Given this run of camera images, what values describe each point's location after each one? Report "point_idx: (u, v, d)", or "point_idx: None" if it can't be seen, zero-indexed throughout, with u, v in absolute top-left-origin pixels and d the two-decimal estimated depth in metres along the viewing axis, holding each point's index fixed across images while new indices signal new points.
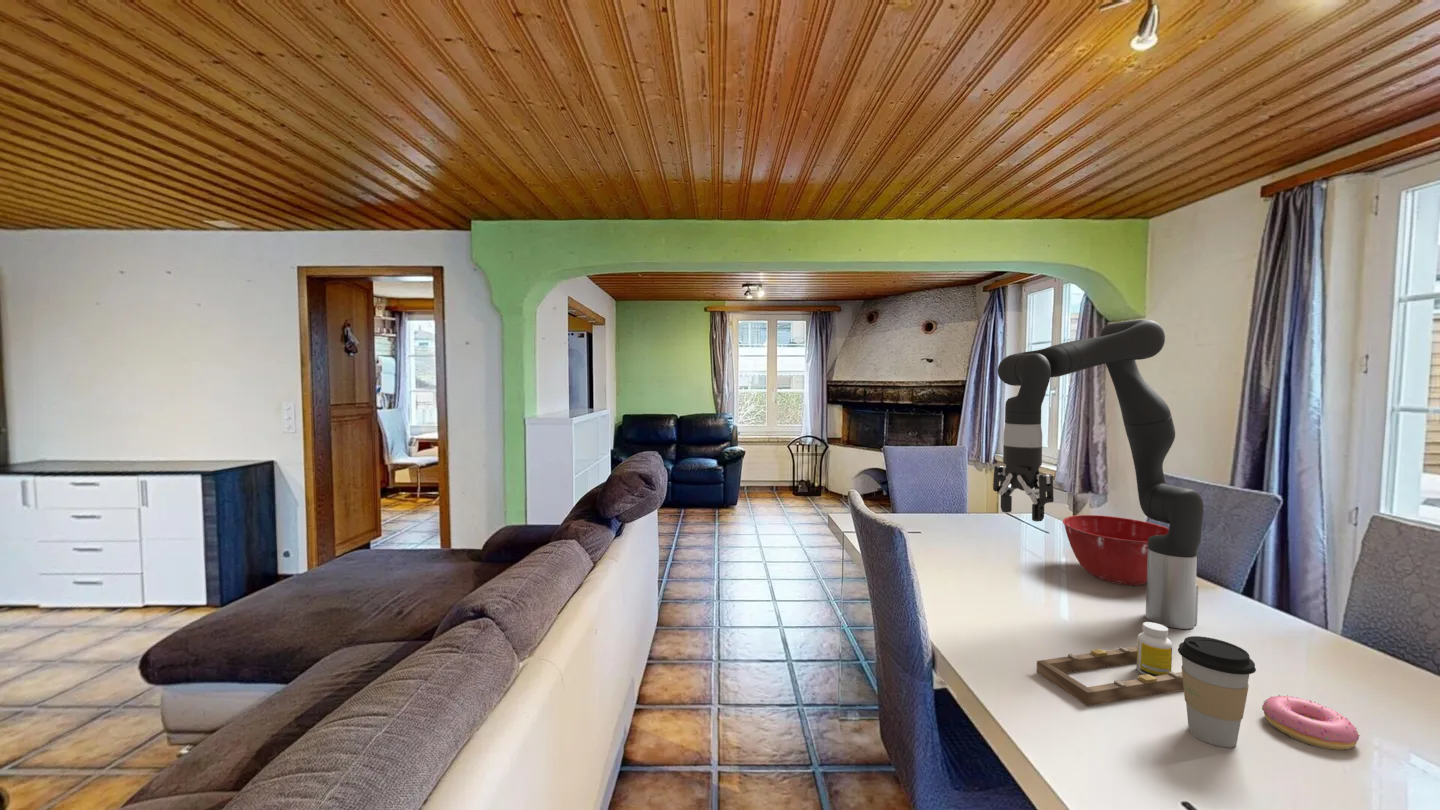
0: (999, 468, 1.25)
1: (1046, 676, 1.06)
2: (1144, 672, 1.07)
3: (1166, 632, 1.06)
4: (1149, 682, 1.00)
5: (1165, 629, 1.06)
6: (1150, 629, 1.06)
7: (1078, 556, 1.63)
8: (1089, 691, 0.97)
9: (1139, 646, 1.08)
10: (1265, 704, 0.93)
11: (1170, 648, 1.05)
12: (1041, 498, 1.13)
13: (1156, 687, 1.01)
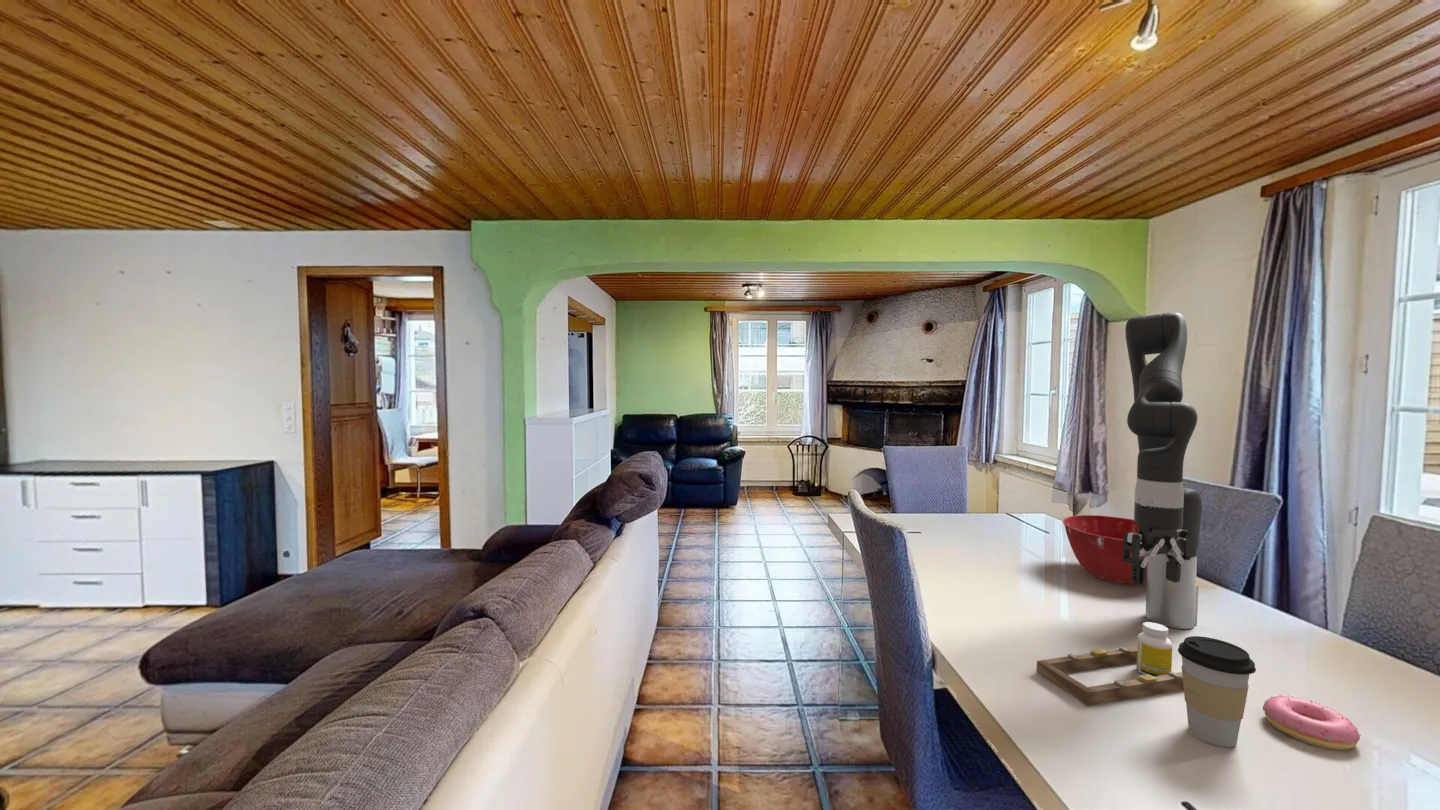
0: None
1: (1046, 676, 1.06)
2: (1144, 672, 1.07)
3: (1166, 632, 1.06)
4: (1149, 682, 1.00)
5: (1165, 629, 1.06)
6: (1150, 629, 1.06)
7: (1078, 556, 1.63)
8: (1089, 691, 0.97)
9: (1139, 646, 1.08)
10: (1266, 704, 0.93)
11: (1170, 648, 1.05)
12: (1188, 555, 1.07)
13: (1156, 687, 1.01)
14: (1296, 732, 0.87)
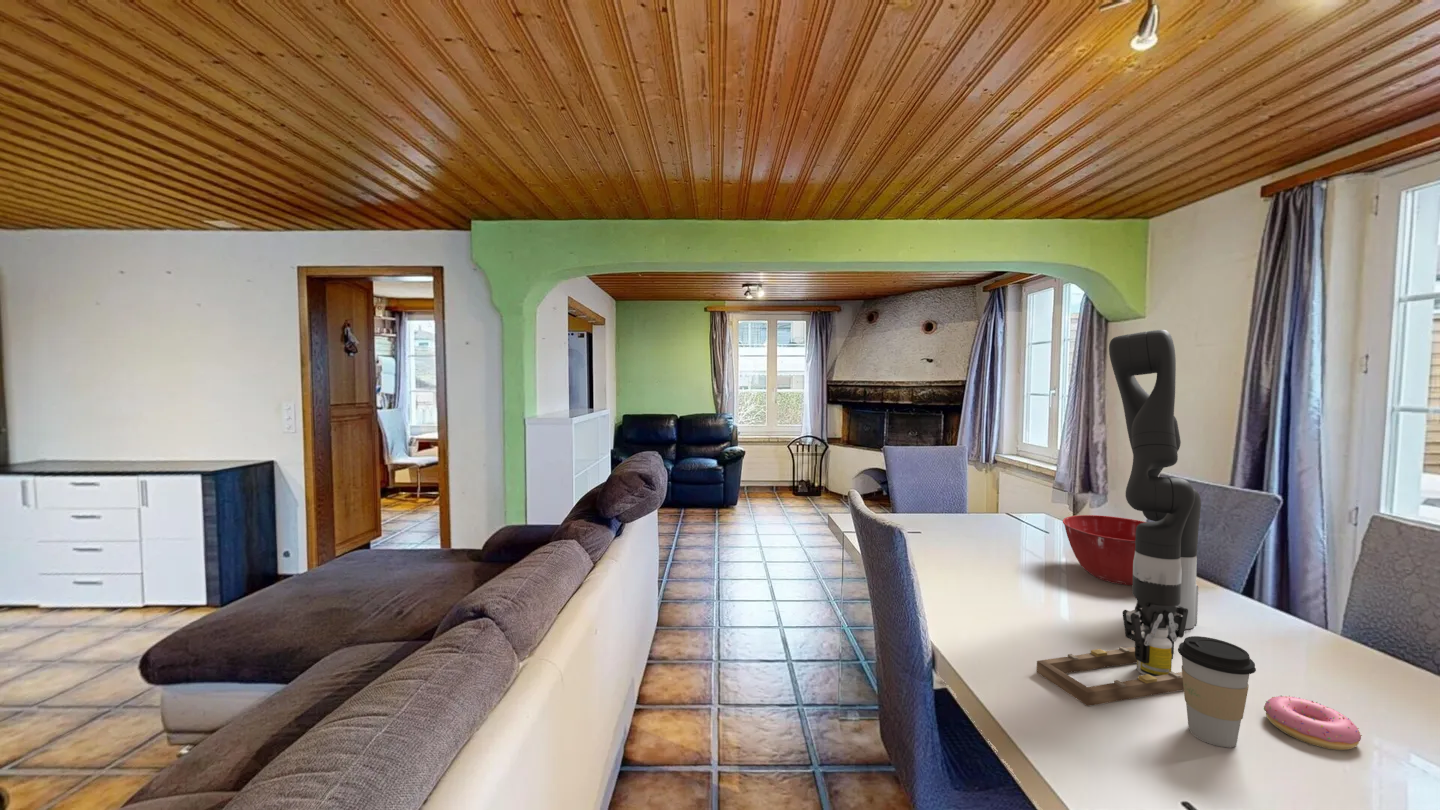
0: None
1: (1046, 676, 1.06)
2: (1144, 671, 1.07)
3: (1166, 632, 1.06)
4: (1149, 682, 1.00)
5: (1165, 629, 1.06)
6: None
7: (1078, 556, 1.63)
8: (1089, 691, 0.97)
9: None
10: (1267, 704, 0.93)
11: (1170, 648, 1.05)
12: (1181, 633, 1.07)
13: (1156, 687, 1.01)
14: (1297, 732, 0.87)
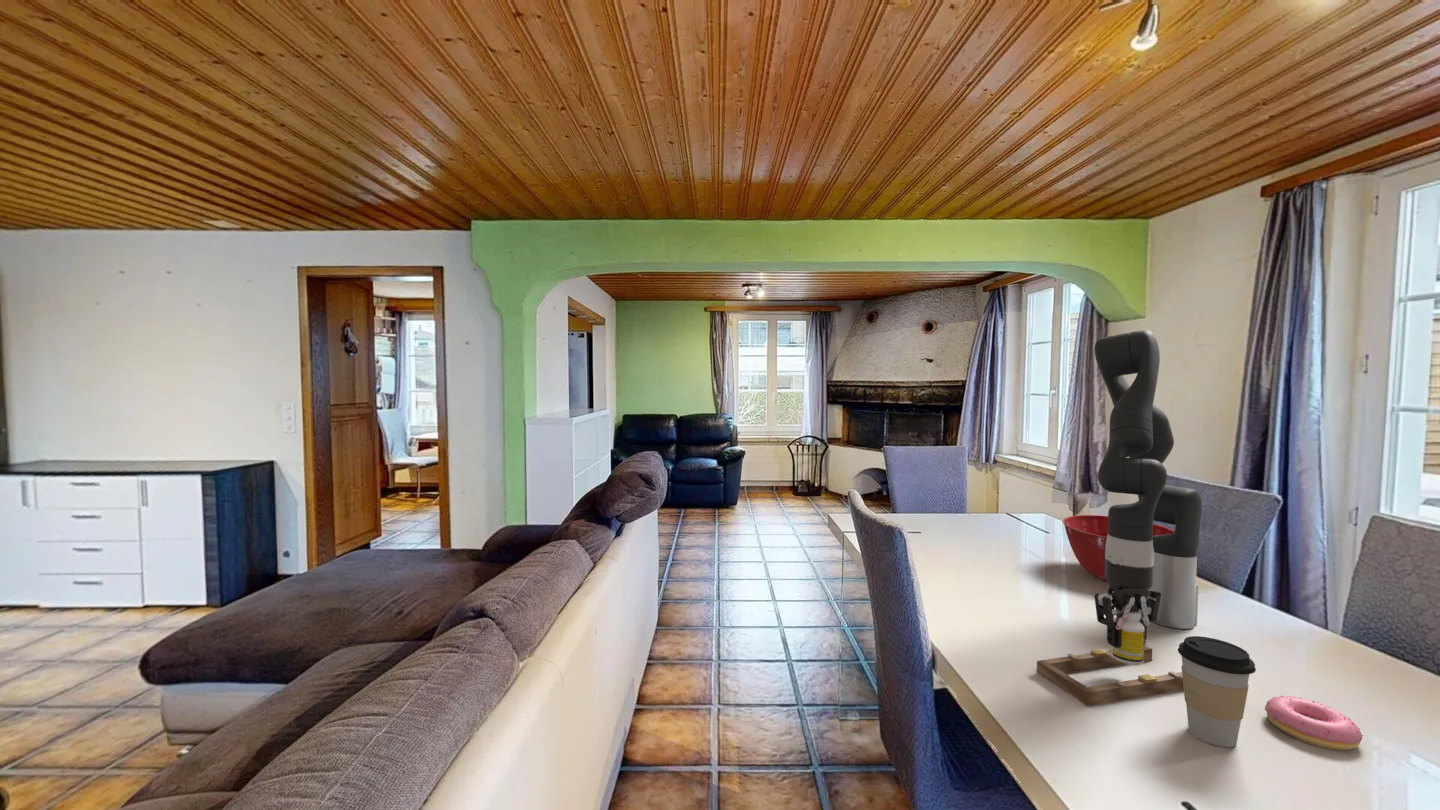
0: None
1: (1046, 676, 1.06)
2: (1117, 656, 1.05)
3: (1138, 616, 1.04)
4: (1149, 682, 1.00)
5: (1137, 613, 1.04)
6: None
7: (1078, 556, 1.63)
8: (1089, 691, 0.97)
9: None
10: (1268, 704, 0.93)
11: (1142, 632, 1.03)
12: (1154, 617, 1.06)
13: (1156, 687, 1.01)
14: (1298, 732, 0.87)
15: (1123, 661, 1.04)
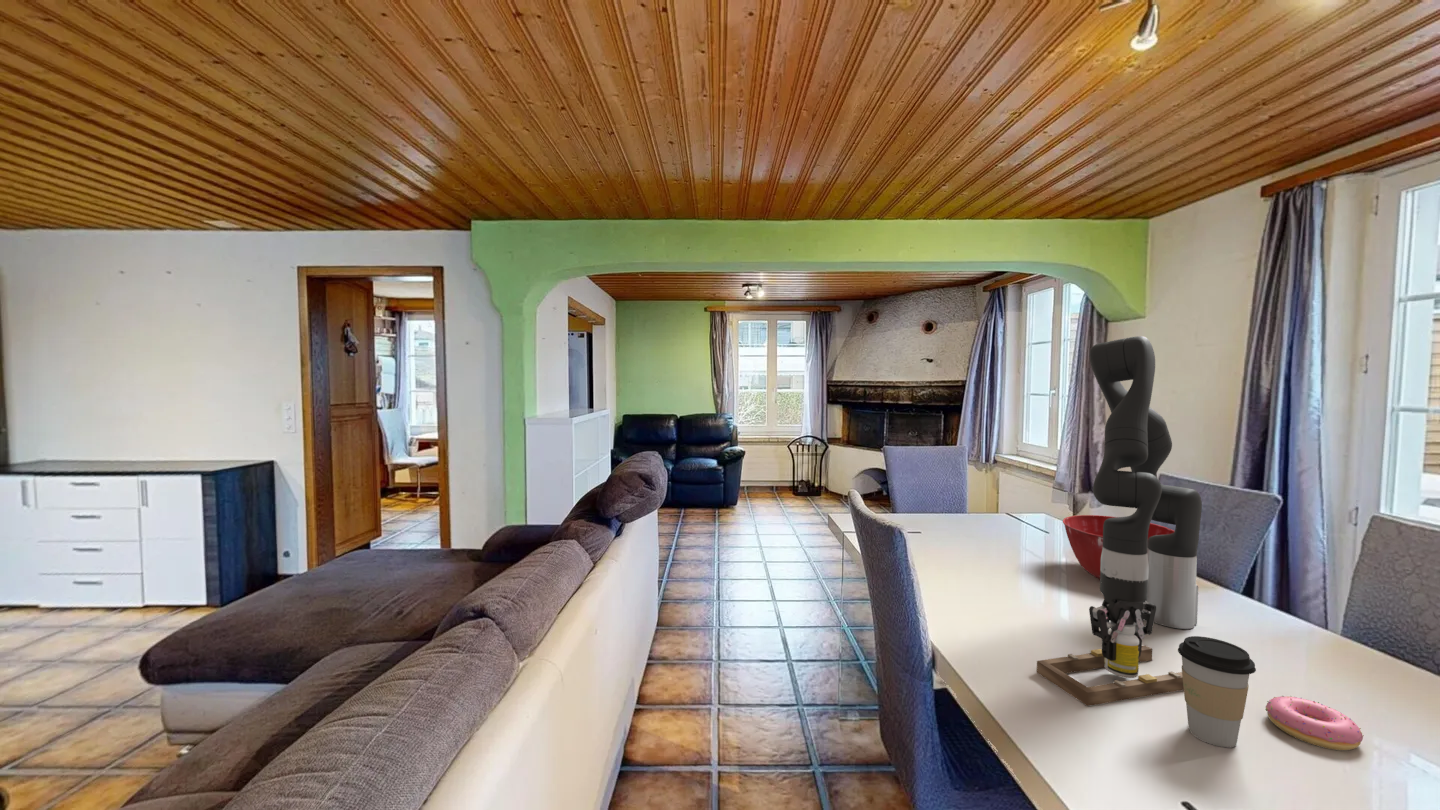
0: None
1: (1046, 676, 1.06)
2: (1111, 669, 1.05)
3: (1133, 629, 1.04)
4: (1149, 682, 1.00)
5: (1132, 626, 1.04)
6: None
7: (1078, 556, 1.63)
8: (1089, 691, 0.97)
9: None
10: (1268, 705, 0.93)
11: (1137, 645, 1.03)
12: (1149, 630, 1.06)
13: (1156, 687, 1.01)
14: (1299, 733, 0.87)
15: (1118, 674, 1.04)
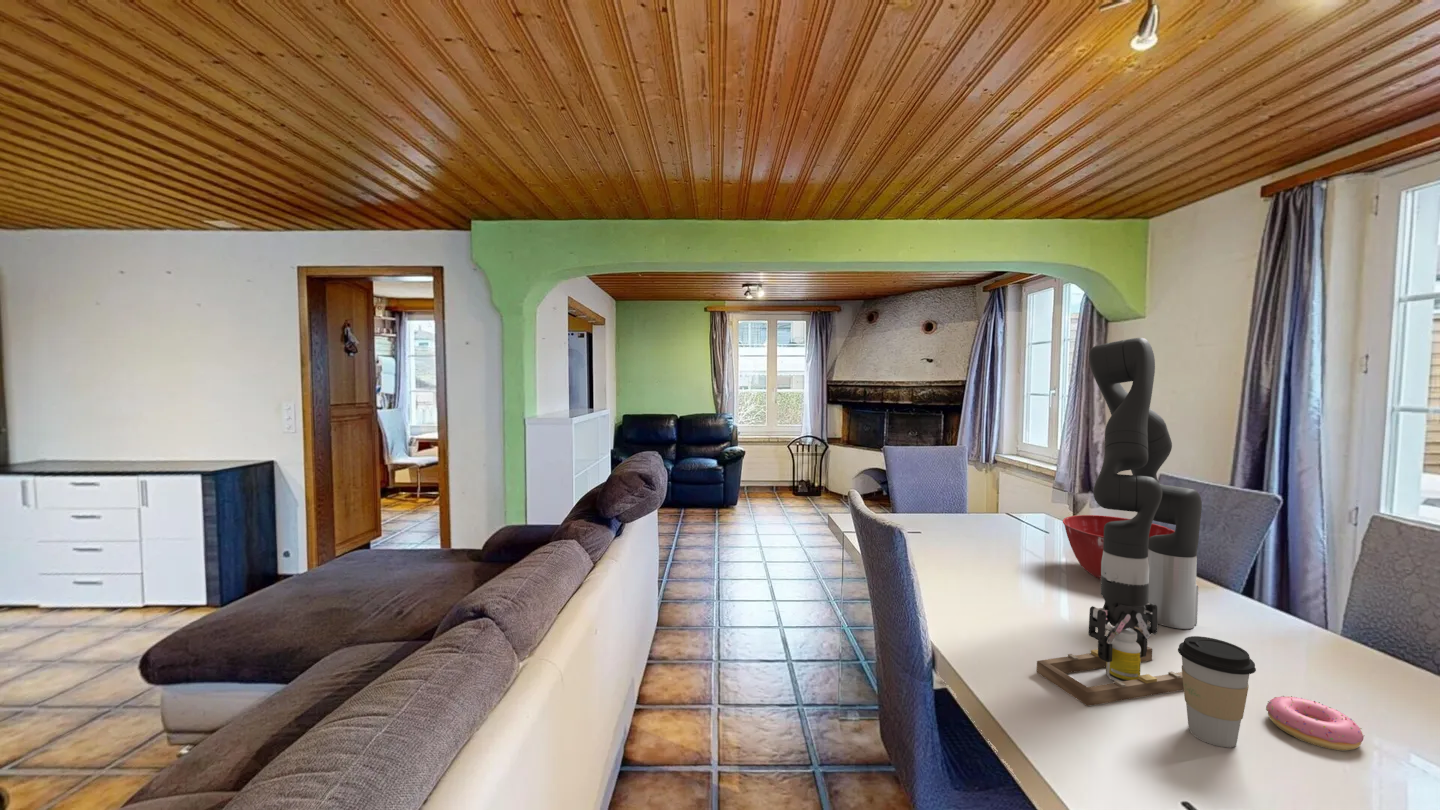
0: None
1: (1046, 676, 1.06)
2: (1113, 676, 1.05)
3: (1135, 636, 1.04)
4: (1149, 682, 1.00)
5: (1134, 633, 1.04)
6: (1119, 634, 1.05)
7: (1078, 556, 1.63)
8: (1089, 691, 0.97)
9: None
10: (1269, 705, 0.93)
11: (1139, 652, 1.03)
12: (1154, 629, 1.06)
13: (1156, 687, 1.01)
14: (1300, 733, 0.87)
15: None
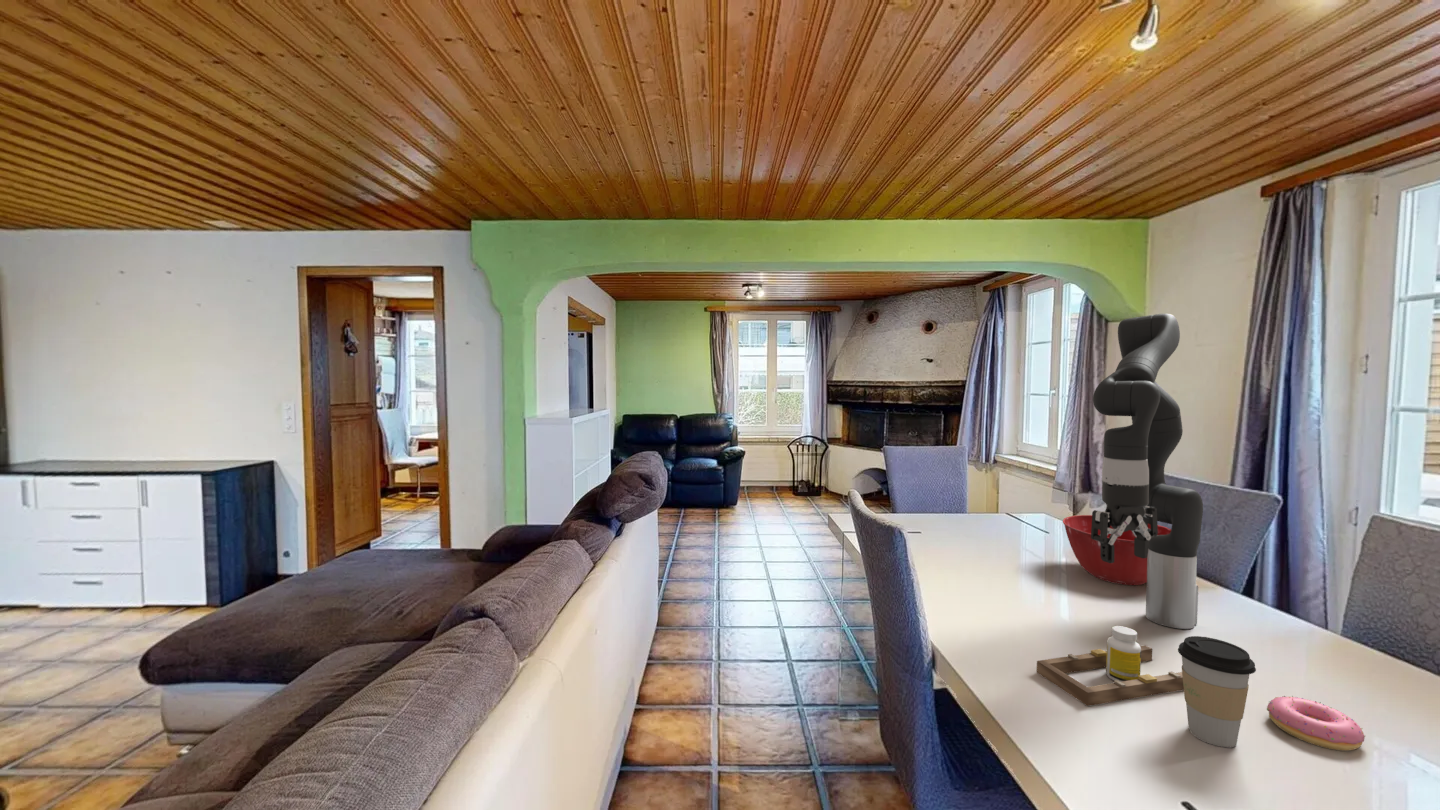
0: None
1: (1046, 676, 1.06)
2: (1113, 676, 1.05)
3: (1135, 636, 1.04)
4: (1149, 682, 1.00)
5: (1134, 633, 1.04)
6: (1119, 633, 1.05)
7: (1078, 556, 1.63)
8: (1089, 691, 0.97)
9: (1108, 650, 1.06)
10: (1270, 705, 0.93)
11: (1139, 652, 1.03)
12: (1155, 531, 1.09)
13: (1156, 687, 1.01)
14: (1301, 733, 0.87)
15: None
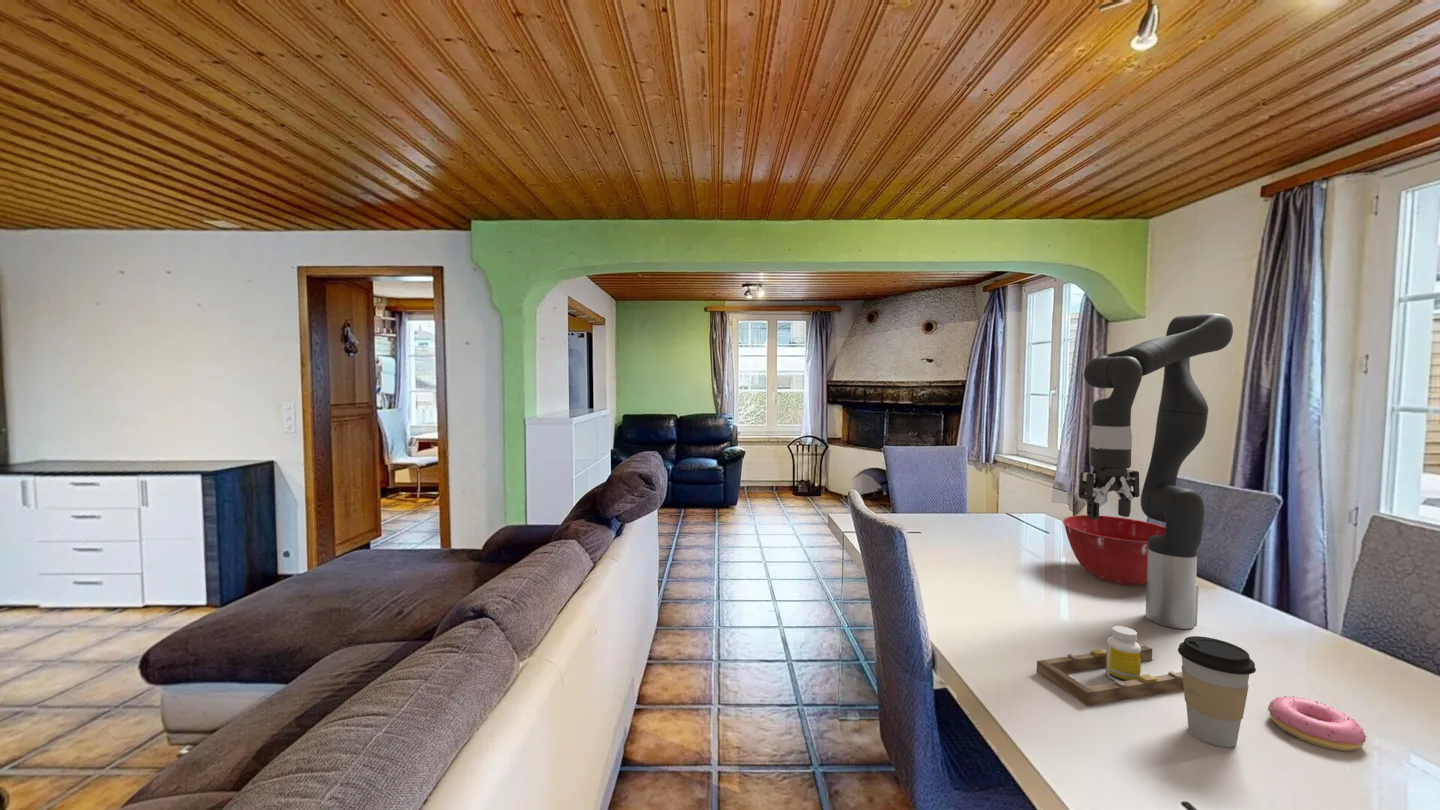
0: None
1: (1046, 676, 1.06)
2: (1113, 676, 1.05)
3: (1135, 636, 1.04)
4: (1149, 682, 1.00)
5: (1134, 633, 1.04)
6: (1119, 633, 1.05)
7: (1078, 556, 1.63)
8: (1089, 691, 0.97)
9: (1108, 650, 1.06)
10: (1271, 705, 0.93)
11: (1139, 652, 1.03)
12: (1137, 493, 1.21)
13: (1156, 687, 1.01)
14: (1302, 733, 0.87)
15: None
